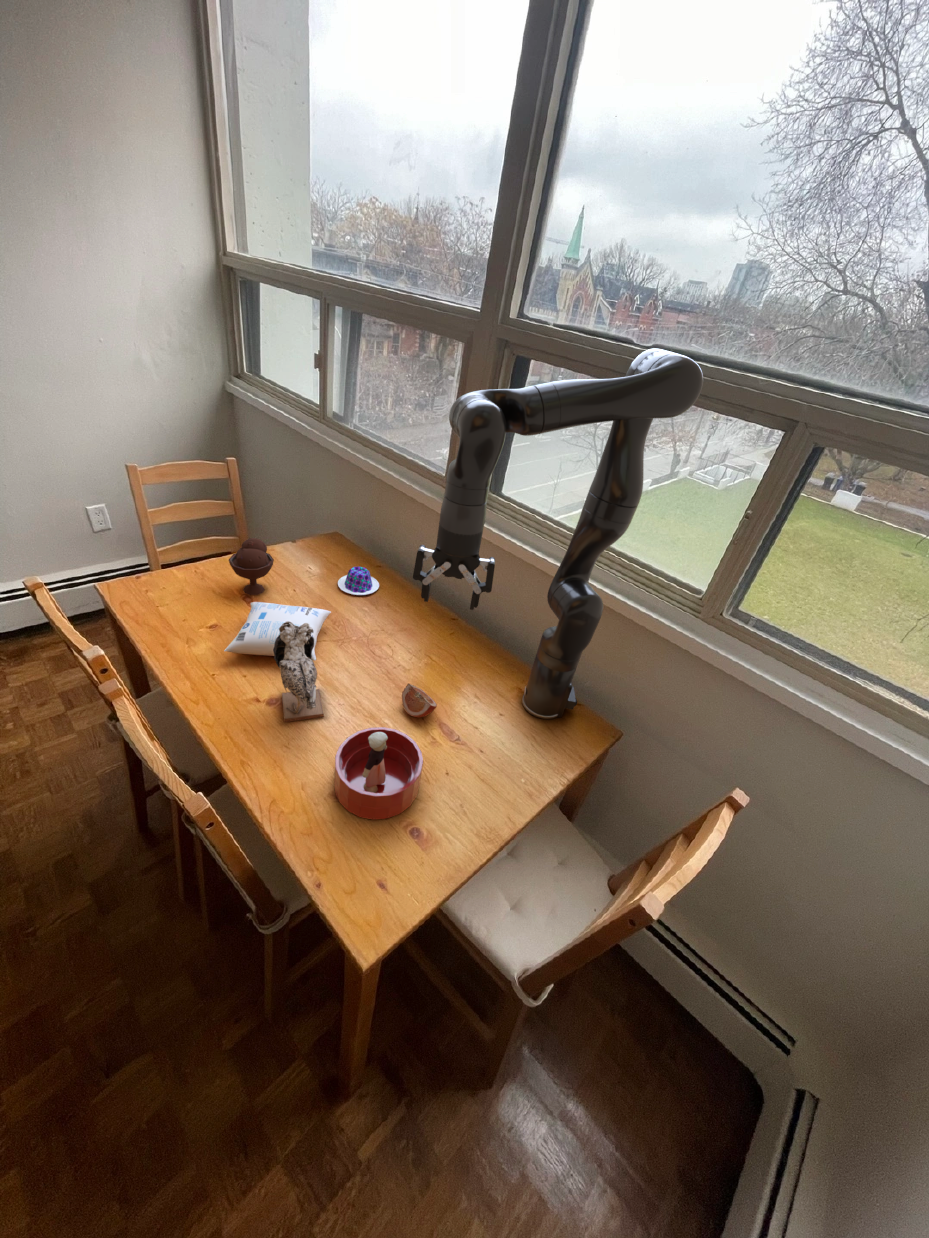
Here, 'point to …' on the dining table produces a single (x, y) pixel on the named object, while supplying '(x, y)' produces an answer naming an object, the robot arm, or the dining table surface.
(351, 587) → the pudding
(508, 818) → the dining table surface
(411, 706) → the fruit slice
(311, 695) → the stuffed bird
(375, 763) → the grandmother figurine
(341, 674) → the dining table surface
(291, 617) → the pouch
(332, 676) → the dining table surface
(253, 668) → the dining table surface
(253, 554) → the ice cream bowl
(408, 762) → the red bowl
